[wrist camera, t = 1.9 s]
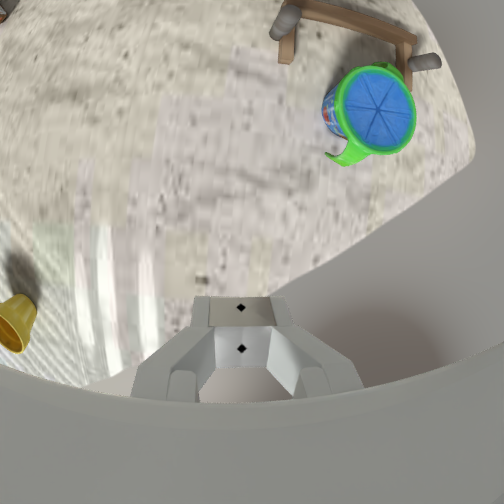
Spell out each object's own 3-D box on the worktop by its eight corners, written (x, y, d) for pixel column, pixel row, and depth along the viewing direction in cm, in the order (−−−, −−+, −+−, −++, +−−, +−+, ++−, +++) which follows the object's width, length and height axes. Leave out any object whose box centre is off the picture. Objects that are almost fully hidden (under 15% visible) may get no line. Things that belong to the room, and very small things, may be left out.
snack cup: (343, 52, 29) (378, 34, 20) (394, 98, 32) (437, 96, 23) (284, 132, 34) (306, 133, 25) (343, 175, 37) (377, 191, 28)
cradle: (270, 5, 25) (281, -20, 18) (409, 43, 28) (439, 35, 21) (267, 62, 29) (278, 45, 22) (409, 94, 32) (442, 93, 25)
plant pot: (44, 298, 41) (20, 329, 32) (44, 332, 45) (26, 362, 36) (8, 277, 38) (-17, 303, 29) (11, 312, 42) (-10, 338, 33)
